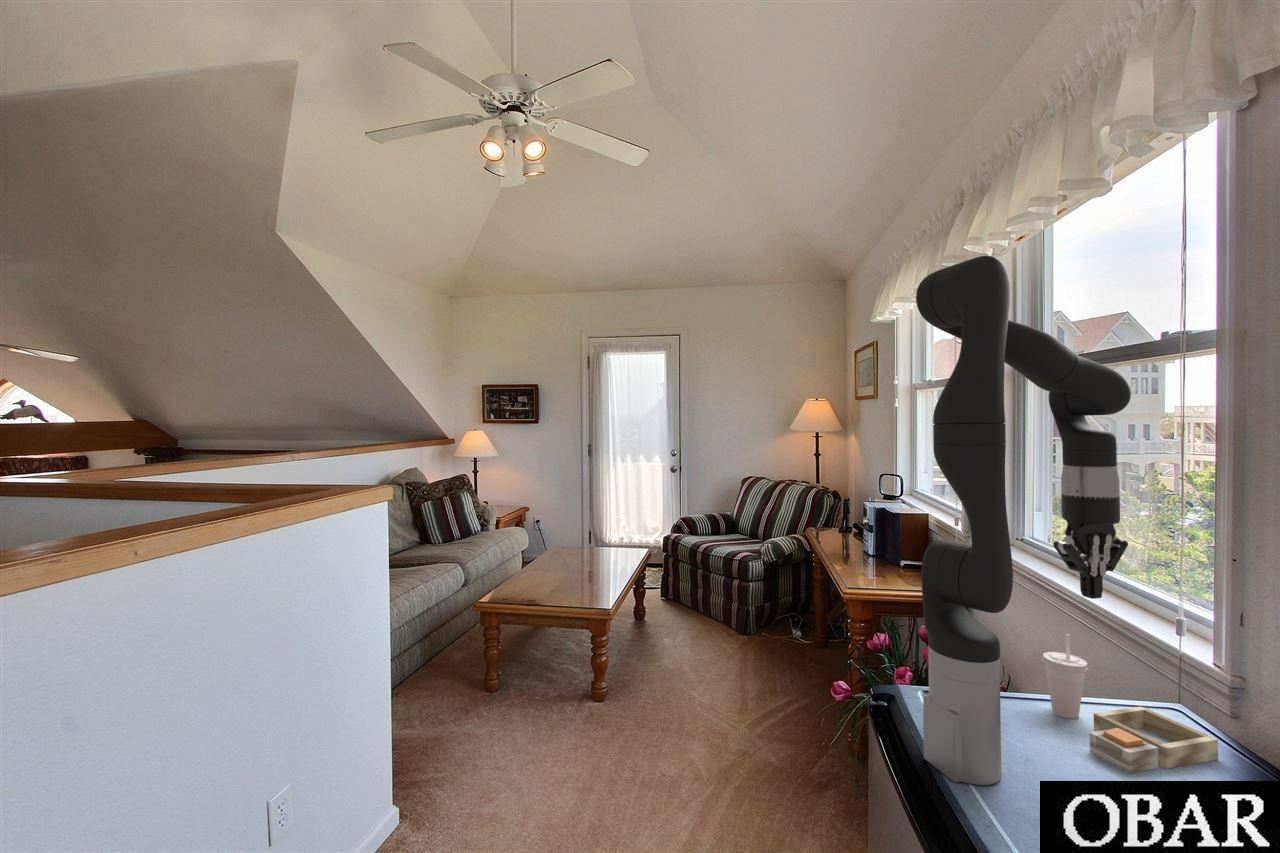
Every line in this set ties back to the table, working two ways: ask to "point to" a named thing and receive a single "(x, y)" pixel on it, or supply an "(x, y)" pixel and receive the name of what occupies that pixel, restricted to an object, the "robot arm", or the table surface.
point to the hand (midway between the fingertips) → (1091, 597)
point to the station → (1150, 741)
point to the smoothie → (1065, 681)
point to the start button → (1123, 738)
